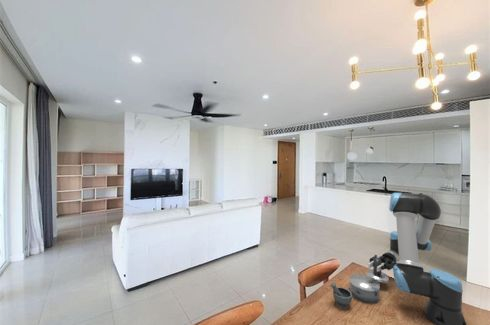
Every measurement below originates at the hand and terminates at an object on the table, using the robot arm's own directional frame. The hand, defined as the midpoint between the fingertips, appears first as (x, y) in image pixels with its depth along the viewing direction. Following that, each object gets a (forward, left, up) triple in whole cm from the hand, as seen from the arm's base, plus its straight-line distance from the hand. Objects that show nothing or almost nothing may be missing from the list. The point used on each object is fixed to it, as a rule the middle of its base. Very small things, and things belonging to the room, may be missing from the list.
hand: (373, 267), depth 130 cm
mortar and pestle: (-21, +22, -13) cm, 33 cm away
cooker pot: (-9, +7, -13) cm, 17 cm away
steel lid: (+4, -4, -8) cm, 9 cm away
